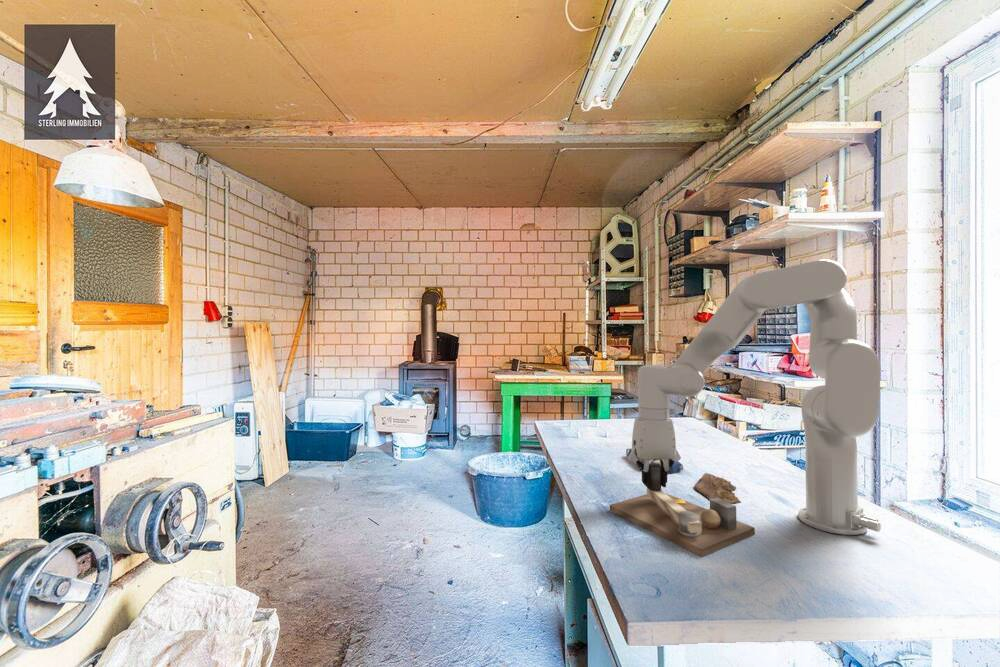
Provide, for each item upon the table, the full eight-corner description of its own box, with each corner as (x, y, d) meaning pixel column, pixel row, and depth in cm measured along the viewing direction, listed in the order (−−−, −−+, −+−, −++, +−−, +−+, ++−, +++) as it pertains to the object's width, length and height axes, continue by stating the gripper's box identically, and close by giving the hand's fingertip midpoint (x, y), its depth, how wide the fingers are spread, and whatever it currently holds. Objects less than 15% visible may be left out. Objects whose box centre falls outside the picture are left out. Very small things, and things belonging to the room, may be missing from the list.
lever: (705, 534, 92) (704, 494, 91) (687, 535, 91) (686, 495, 91) (658, 495, 113) (658, 462, 113) (643, 495, 113) (643, 463, 113)
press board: (754, 534, 96) (754, 504, 96) (702, 556, 87) (701, 524, 87) (659, 496, 119) (658, 472, 119) (609, 510, 110) (609, 485, 110)
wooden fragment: (742, 509, 110) (742, 504, 110) (695, 503, 114) (695, 499, 114) (730, 476, 134) (730, 473, 134) (691, 473, 138) (691, 470, 138)
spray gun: (666, 454, 157) (624, 456, 157) (665, 443, 157) (624, 445, 157) (692, 475, 136) (645, 477, 136) (692, 462, 136) (644, 464, 136)
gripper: (678, 410, 115) (679, 479, 115) (617, 411, 114) (618, 481, 115) (692, 416, 108) (693, 490, 108) (627, 417, 107) (627, 492, 107)
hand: (654, 485), depth 111 cm, fingers closed on lever, 3 cm apart
